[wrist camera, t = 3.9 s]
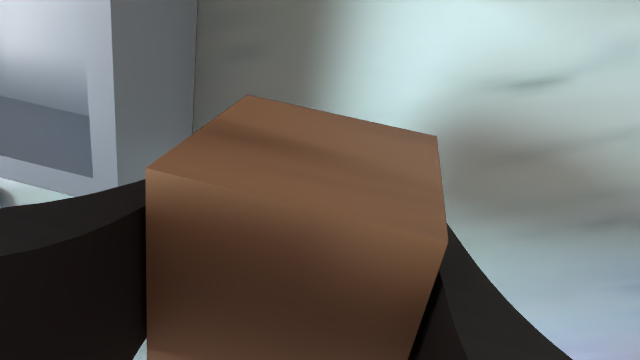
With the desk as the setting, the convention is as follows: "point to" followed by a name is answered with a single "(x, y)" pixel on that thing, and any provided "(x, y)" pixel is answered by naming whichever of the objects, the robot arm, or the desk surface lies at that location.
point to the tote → (93, 89)
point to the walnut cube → (292, 237)
